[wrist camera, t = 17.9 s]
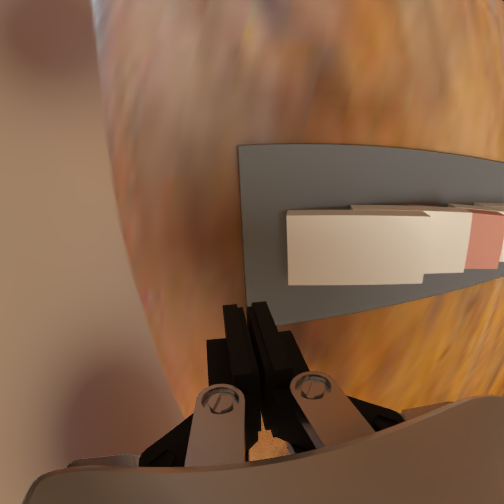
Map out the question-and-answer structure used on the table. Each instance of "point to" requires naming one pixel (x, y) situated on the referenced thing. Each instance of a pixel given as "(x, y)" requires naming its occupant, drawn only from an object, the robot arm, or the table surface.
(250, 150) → the domino mat
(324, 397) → the robot arm
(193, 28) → the table surface
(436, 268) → the domino
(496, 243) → the domino
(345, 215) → the domino
